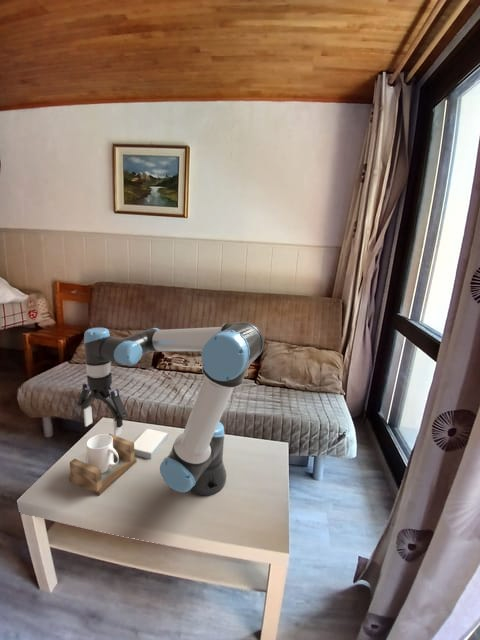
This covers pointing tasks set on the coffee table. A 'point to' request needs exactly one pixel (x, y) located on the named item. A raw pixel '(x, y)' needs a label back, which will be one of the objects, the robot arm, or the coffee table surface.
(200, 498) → the coffee table surface
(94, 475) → the cradle
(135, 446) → the white rectangular block
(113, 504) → the coffee table surface
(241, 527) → the coffee table surface
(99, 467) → the mug
